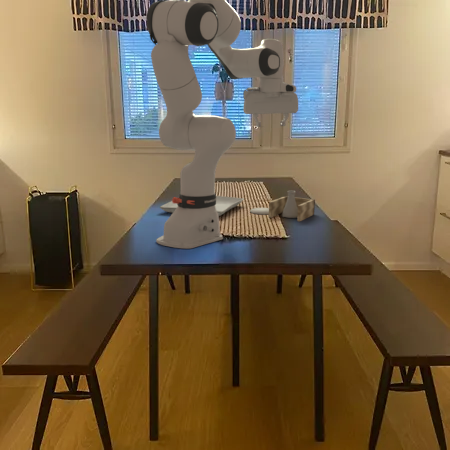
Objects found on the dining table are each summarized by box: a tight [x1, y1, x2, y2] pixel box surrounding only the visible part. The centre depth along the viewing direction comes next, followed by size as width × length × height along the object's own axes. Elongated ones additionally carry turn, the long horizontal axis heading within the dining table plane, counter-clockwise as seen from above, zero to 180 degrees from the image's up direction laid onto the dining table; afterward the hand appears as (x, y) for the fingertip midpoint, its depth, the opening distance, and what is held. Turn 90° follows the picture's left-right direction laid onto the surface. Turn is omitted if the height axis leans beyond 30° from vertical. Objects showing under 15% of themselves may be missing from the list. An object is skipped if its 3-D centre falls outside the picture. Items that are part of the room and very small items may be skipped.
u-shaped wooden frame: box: [268, 195, 316, 222], centre depth 181 cm, size 14×13×6 cm
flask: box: [281, 190, 298, 219], centre depth 180 cm, size 7×7×10 cm
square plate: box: [159, 195, 245, 216], centre depth 193 cm, size 27×27×4 cm
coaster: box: [249, 207, 269, 215], centre depth 189 cm, size 10×10×1 cm
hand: (270, 126), depth 171 cm, fingers open, 8 cm apart
